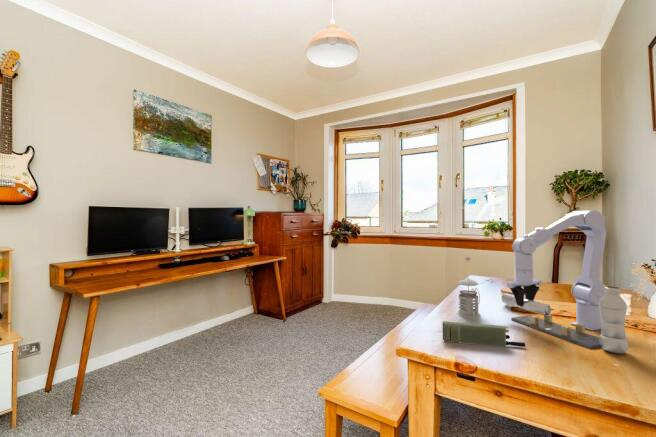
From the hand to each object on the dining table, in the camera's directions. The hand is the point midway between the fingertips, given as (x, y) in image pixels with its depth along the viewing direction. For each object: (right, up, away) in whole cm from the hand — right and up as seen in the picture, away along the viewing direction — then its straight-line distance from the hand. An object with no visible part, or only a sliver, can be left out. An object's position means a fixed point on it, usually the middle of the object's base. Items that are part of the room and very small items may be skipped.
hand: (524, 305), depth 122 cm
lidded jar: (+12, -8, +27) cm, 30 cm away
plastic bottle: (+13, -8, -23) cm, 28 cm away
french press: (-14, -9, +15) cm, 23 cm away
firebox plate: (+8, -8, -5) cm, 13 cm away
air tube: (0, -2, 0) cm, 2 cm away
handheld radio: (-24, -9, -15) cm, 30 cm away
